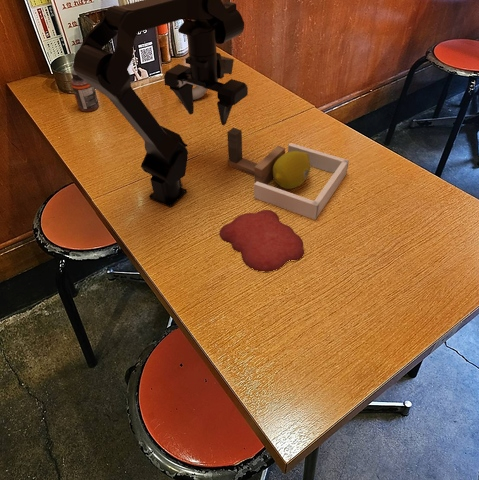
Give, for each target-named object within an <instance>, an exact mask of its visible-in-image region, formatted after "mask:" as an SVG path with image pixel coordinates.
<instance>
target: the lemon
mask: <svg viewBox="0 0 479 480" xmlns="http://www.w3.org/2000/svg"><path fill="white" fill-rule="evenodd" d="M310 171H311V166H310V161H309V156H308V154H307V153H305V152H299V151H291V152H288V151H287V152H285V154H284V155H282V156H281V157H280V158H279V159H278V160H277V161H276V162H275V164H274V166H273V177H274V179H273V180H274V181H275V182H276V183H277V185H279V186H280V187H281V188H283V189H286V190H287V189H289V190H290V189H295V188H298V187H300V186H301V185H302V184H303V183H304V182H305V181H306V180H307V178H308V176H309V174H310Z"/></svg>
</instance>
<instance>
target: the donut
mask: <svg viewBox="0 0 479 480" xmlns="http://www.w3.org/2000/svg"><path fill="white" fill-rule="evenodd" d="M208 90H209V89H206V88H201V87H198V86H194V87H193V88H192V93H193V101H194V100H199V99H201V98H202V97H203V96H204V95H205V94H206V92H207V91H208Z"/></svg>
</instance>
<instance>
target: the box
mask: <svg viewBox="0 0 479 480" xmlns="http://www.w3.org/2000/svg"><path fill="white" fill-rule="evenodd" d="M291 151H299V152H305V153H307V154H308V156H309V161H310V167H313V168H314V169H315V168H316V169H319V170H323V171H326V172H328V173H332V175H331V177H330V178H329V179H328V181H327V182H326V184H325V185H324V187H323V188H322V189H321V191H320V192H319V193H318V195H317V196H316V198H315V199H314V200H313V199H309V198H307V197H304V196H301V195H298V194H295V193H292V192H289V191H286V190H284V189H280V188H277V187H276V186H275V187H274V186H272V185H269V184H268V185H266V184H263V183H260V182H258V181H256V183H255V182H254V183H253V198H254V199H256V200H259V201H262V202H264V203H268V204H270V205H273V206H276V207H278V208H281V209H284V210H287V211H289V212H292V213H295V214H298V215H301V216H304V217H307V218H309V219H311V220H314V221H315V220H316V219H317V218H318V216H319V215H320V214H321V212H322V211H323V209H324V208H325V207H326V205H327V204H328V202H329V200H330V199H331V198H332V196H333V194H334V193H335V191H336V190H337V189H338V187H339V186H340V184H341V183H342V181H343V180H344V178H345V177H346V175H347V174H348V169H349V163H350V160H349V159H346V158H342V157H339V156H335V155H332V154H329V153H325V152H322V151H319V150H316V149H312V148H309V147H305V146H302V145H298V144H295V143H292V142H290V143H289V144H288V145H287V153H288V152H291Z"/></svg>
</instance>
